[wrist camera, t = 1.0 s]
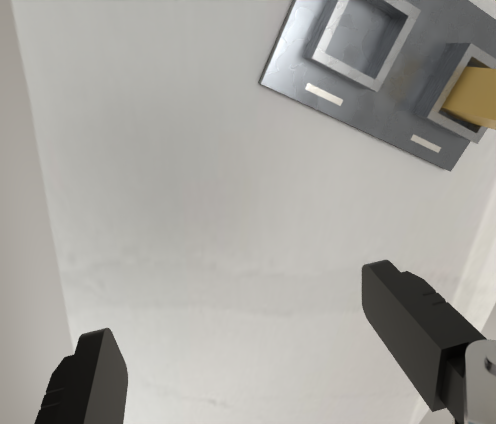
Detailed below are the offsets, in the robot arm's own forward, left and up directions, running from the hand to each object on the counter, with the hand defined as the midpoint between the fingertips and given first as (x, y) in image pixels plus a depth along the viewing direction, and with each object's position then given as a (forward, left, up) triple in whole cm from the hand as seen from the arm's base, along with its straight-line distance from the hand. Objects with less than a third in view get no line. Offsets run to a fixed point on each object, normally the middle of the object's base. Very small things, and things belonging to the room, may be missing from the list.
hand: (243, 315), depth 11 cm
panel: (-13, +16, -26) cm, 33 cm away
